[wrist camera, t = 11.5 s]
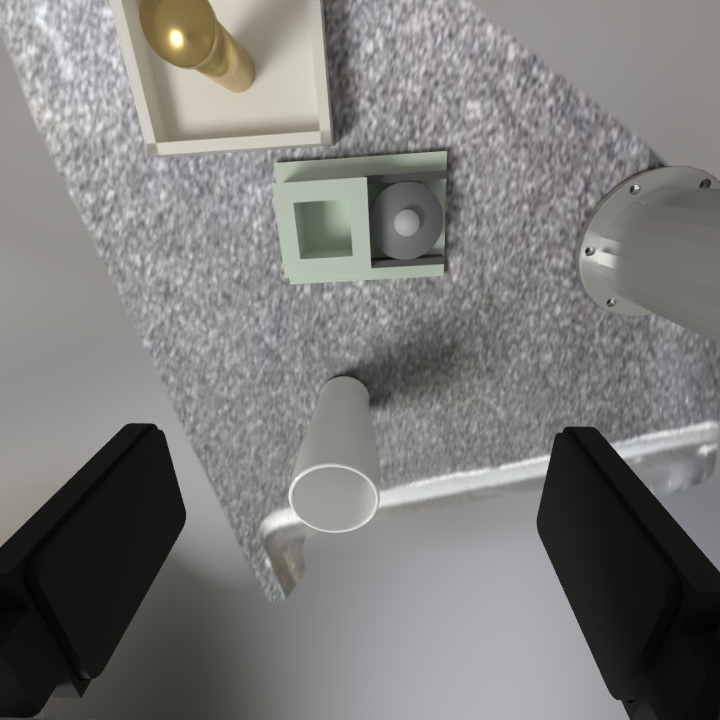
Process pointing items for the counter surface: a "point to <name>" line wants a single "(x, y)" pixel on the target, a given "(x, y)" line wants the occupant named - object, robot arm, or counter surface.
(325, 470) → the drinking glass
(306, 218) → the green socket holder
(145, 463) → the robot arm
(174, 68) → the tray
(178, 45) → the pin
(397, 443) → the counter surface
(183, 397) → the counter surface
